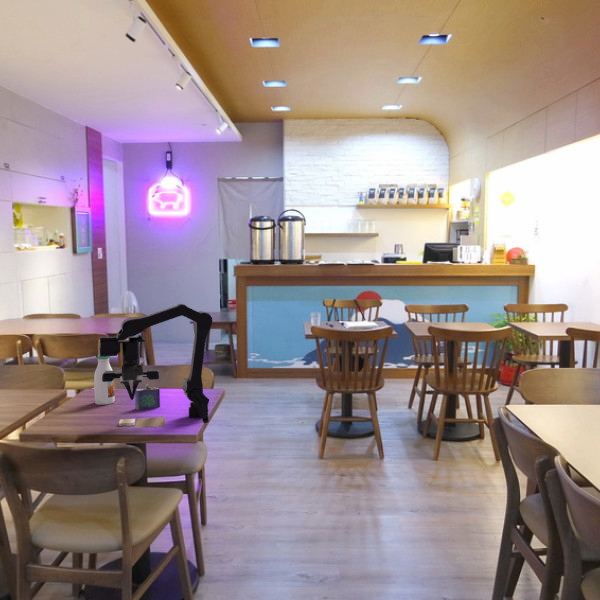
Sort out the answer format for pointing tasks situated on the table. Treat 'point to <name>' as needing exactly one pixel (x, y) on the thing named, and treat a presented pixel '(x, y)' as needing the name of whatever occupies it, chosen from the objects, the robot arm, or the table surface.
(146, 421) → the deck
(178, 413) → the table surface
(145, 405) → the flask
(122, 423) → the coaster
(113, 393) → the milk bottle
